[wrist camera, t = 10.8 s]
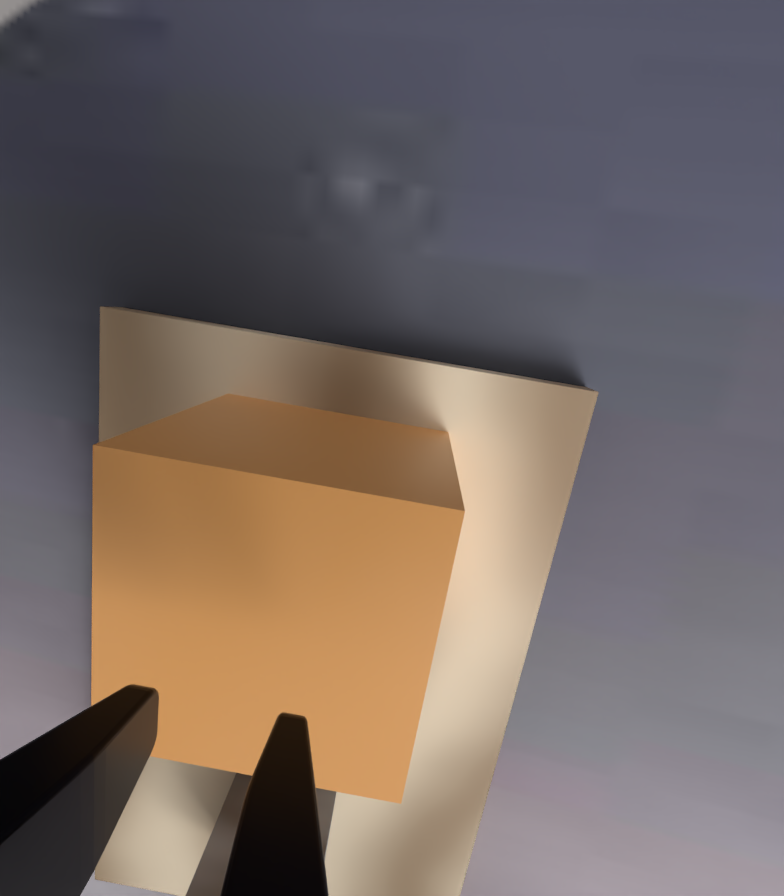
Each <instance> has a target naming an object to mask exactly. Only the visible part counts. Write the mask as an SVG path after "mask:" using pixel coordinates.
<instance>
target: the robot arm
mask: <svg viewBox="0 0 784 896" xmlns="http://www.w3.org/2000/svg"><path fill="white" fill-rule="evenodd" d="M158 709H159V693H158V691H157V690H156V689H155V688H152V687H146V686H141V685H136V684H130V685H127V686H125V687H123V688H121V689H120V690H118V691H116V692H115V693H113V694H111V695H110V696H108V697H106V698H104V699H103V700H101V701H99V702H98V703H96V704H94V705H92V706H91V707H89V708H87V709H86V710H84V711H82V712H81V713H79V714H77V715H75V716H74V717H72V718H70V719H69V720H67V721H65V722H64V723H62V724H60V725H58V726H57V727H55V728H53V729H52V730H50V731H48V732H47V733H45V734H43V735H41V736H40V737H38V738H36V739H35V740H33V741H31V742H29V743H28V744H26V745H24V746H23V747H21V748H19V749H18V750H16V751H14V752H12V753H11V754H9V755H7V756H6V757H4V758H2V759H1V760H0V896H80V895H81V893H82V891H83V889H84V888H85V886H86V884H87V882H88V881H89V879H90V877H91V875H92V873H93V872H94V870H95V868H96V866H97V864H98V862H99V860H100V858H101V856H102V854H103V852H104V850H105V848H106V846H107V844H108V842H109V839H110V837H111V835H112V833H113V831H114V829H115V827H116V825H117V823H118V821H119V819H120V817H121V815H122V813H123V810H124V808H125V806H126V804H127V802H128V800H129V798H130V796H131V794H132V792H133V790H134V788H135V786H136V784H137V781H138V779H139V777H140V775H141V773H142V771H143V769H144V767H145V765H146V763H147V761H148V759H149V757H150V755H151V752H152V750H153V747H154V745H155V741H156V738H157V730H158ZM220 896H329V894H328V886H327V877H326V869H325V861H324V853H323V844H322V836H321V828H320V820H319V812H318V803H317V795H316V787H315V779H314V770H313V762H312V754H311V746H310V738H309V729H308V722H307V719H306V717H305V716H302V715H296V714H291V713H286V712H282V713H280V714H279V715H278V717H277V719H276V721H275V723H274V726H273V728H272V730H271V733H270V735H269V737H268V740H267V742H266V744H265V747H264V749H263V752H262V754H261V756H260V759H259V761H258V763H257V766H256V768H255V770H254V773H253V775H252V777H251V780H250V783H249V785H248V788H247V791H246V794H245V798H244V801H243V805H242V809H241V813H240V817H239V821H238V825H237V829H236V833H235V837H234V841H233V845H232V849H231V853H230V857H229V861H228V865H227V869H226V873H225V877H224V881H223V886H222V890H221V894H220Z"/></svg>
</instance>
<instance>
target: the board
mask: <svg viewBox="0 0 784 896" xmlns="http://www.w3.org/2000/svg"><path fill="white" fill-rule="evenodd" d="M225 394H234V395H240V396H245V397H251V398H257V399H263V400H268V401H274V402H280V403H286V404H291V405H297V406H303V407H308V408H314V409H320V410H326V411H331V412H337V413H343V414H348V415H354V416H360V417H366V418H371V419H377V420H383V421H388V422H394V423H400V424H406V425H411V426H417V427H423V428H428V429H434V430H440V431H446V432H448V433H449V438H450V442H451V447H452V452H453V457H454V461H455V466H456V471H457V476H458V480H459V485H460V490H461V494H462V499H463V504H464V509H465V514H464V518H463V523H462V527H461V532H460V537H459V541H458V546H457V550H456V555H455V559H454V564H453V569H452V573H451V578H450V582H449V587H448V592H447V596H446V601H445V605H444V610H443V614H442V619H441V624H440V628H439V633H438V637H437V642H436V646H435V651H434V656H433V660H432V665H431V669H430V674H429V678H428V683H427V688H426V692H425V697H424V701H423V706H422V711H421V715H420V720H419V724H418V729H417V733H416V738H415V743H414V747H413V752H412V756H411V761H410V765H409V770H408V775H407V779H406V784H405V788H404V793H403V798H402V802H401V804H399V803H394V802H388V801H383V800H378V799H373V798H367V797H362V796H357V795H351V794H346V793H341V792H336V791H330V790H325V789H320V788H316V795H317V803H318V812H319V820H320V828H321V836H322V844H323V853H324V861H325V869H326V877H327V886H328V894H329V896H460V893H461V889H462V886H463V882H464V879H465V875H466V871H467V868H468V864H469V860H470V857H471V853H472V850H473V846H474V842H475V839H476V835H477V831H478V828H479V824H480V821H481V817H482V813H483V810H484V806H485V802H486V799H487V795H488V791H489V788H490V784H491V781H492V777H493V773H494V770H495V766H496V762H497V759H498V755H499V752H500V748H501V744H502V741H503V737H504V733H505V730H506V726H507V723H508V719H509V715H510V712H511V708H512V704H513V701H514V697H515V693H516V690H517V686H518V683H519V679H520V675H521V672H522V668H523V664H524V661H525V657H526V654H527V650H528V646H529V643H530V639H531V635H532V632H533V628H534V625H535V621H536V617H537V614H538V610H539V606H540V603H541V599H542V595H543V592H544V588H545V585H546V581H547V577H548V574H549V570H550V566H551V563H552V559H553V556H554V552H555V548H556V545H557V541H558V537H559V534H560V530H561V527H562V523H563V519H564V516H565V512H566V508H567V505H568V501H569V497H570V494H571V490H572V487H573V483H574V479H575V476H576V472H577V468H578V465H579V461H580V458H581V454H582V450H583V447H584V443H585V439H586V436H587V432H588V429H589V425H590V421H591V418H592V414H593V410H594V407H595V403H596V399H597V396H598V392H597V391H595V390H592V389H590V388H587V387H582V386H577V385H571V384H565V383H559V382H553V381H547V380H542V379H536V378H530V377H524V376H518V375H513V374H507V373H501V372H495V371H489V370H483V369H478V368H472V367H466V366H460V365H454V364H449V363H443V362H437V361H431V360H425V359H420V358H414V357H408V356H402V355H396V354H390V353H385V352H379V351H373V350H367V349H361V348H356V347H350V346H344V345H338V344H332V343H326V342H321V341H315V340H309V339H303V338H297V337H292V336H286V335H280V334H274V333H268V332H262V331H257V330H251V329H245V328H239V327H233V326H228V325H222V324H216V323H210V322H204V321H198V320H193V319H187V318H181V317H175V316H169V315H164V314H158V313H152V312H146V311H140V310H135V309H129V308H123V307H102V306H100V372H99V442H102V441H105V440H107V439H110V438H113V437H115V436H118V435H120V434H123V433H126V432H128V431H131V430H134V429H136V428H139V427H141V426H144V425H147V424H149V423H152V422H155V421H157V420H160V419H162V418H165V417H168V416H170V415H173V414H176V413H178V412H181V411H183V410H186V409H189V408H191V407H194V406H197V405H199V404H202V403H204V402H207V401H210V400H212V399H215V398H218V397H220V396H223V395H225ZM251 777H252V776H251V775H246V774H241V773H235V772H230V771H225V770H220V769H214V768H209V767H204V766H199V765H193V764H188V763H183V762H178V761H172V760H167V759H162V758H156V757H151V756H150V757H149V759H148V761H147V763H146V765H145V767H144V769H143V771H142V773H141V775H140V777H139V779H138V781H137V784H136V786H135V788H134V790H133V792H132V794H131V796H130V798H129V800H128V802H127V804H126V806H125V808H124V810H123V813H122V815H121V817H120V819H119V821H118V823H117V825H116V827H115V829H114V831H113V833H112V835H111V837H110V839H109V842H108V844H107V846H106V848H105V850H104V852H103V854H102V856H101V858H100V860H99V862H98V864H97V866H96V868H95V879H96V880H101V881H106V882H111V883H116V884H121V885H127V886H132V887H137V888H142V889H147V890H152V891H157V892H163V893H168V894H173V895H178V896H220V894H221V890H222V886H223V881H224V877H225V873H226V869H227V865H228V861H229V857H230V853H231V849H232V845H233V841H234V837H235V833H236V829H237V825H238V821H239V817H240V813H241V809H242V805H243V801H244V798H245V794H246V791H247V788H248V785H249V783H250V780H251Z"/></svg>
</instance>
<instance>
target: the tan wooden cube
mask: <svg viewBox="0 0 784 896" xmlns="http://www.w3.org/2000/svg"><path fill="white" fill-rule="evenodd" d="M464 514H465V509H464V504H463V499H462V494H461V490H460V485H459V480H458V476H457V471H456V466H455V461H454V457H453V452H452V447H451V442H450V438H449V433H448V432H446V431H440V430H434V429H428V428H423V427H417V426H411V425H406V424H400V423H394V422H388V421H383V420H377V419H371V418H366V417H360V416H354V415H348V414H343V413H337V412H331V411H326V410H320V409H314V408H308V407H303V406H297V405H291V404H286V403H280V402H274V401H268V400H263V399H257V398H251V397H245V396H240V395H234V394H225V395H223V396H220V397H218V398H215V399H212V400H210V401H207V402H204V403H202V404H199V405H197V406H194V407H191V408H189V409H186V410H183V411H181V412H178V413H176V414H173V415H170V416H168V417H165V418H162V419H160V420H157V421H155V422H152V423H149V424H147V425H144V426H141V427H139V428H136V429H134V430H131V431H128V432H126V433H123V434H120V435H118V436H115V437H113V438H110V439H107V440H105V441H102V442H99V443H97V444H94V445H93V512H92V677H91V706H92V705H94V704H96V703H98V702H99V701H101V700H103V699H104V698H106V697H108V696H110V695H111V694H113V693H115V692H116V691H118V690H120V689H121V688H123V687H125V686H127V685H130V684H136V685H141V686H146V687H152V688H155V689H156V690H157V691H158V693H159V709H158V730H157V738H156V741H155V745H154V747H153V750H152V752H151V755H150V756H151V757H156V758H162V759H167V760H172V761H178V762H183V763H188V764H193V765H199V766H204V767H209V768H214V769H220V770H225V771H230V772H235V773H241V774H246V775H251V776H252V775H253V773H254V770H255V768H256V766H257V763H258V761H259V759H260V756H261V754H262V752H263V749H264V747H265V744H266V742H267V740H268V737H269V735H270V733H271V730H272V728H273V726H274V723H275V721H276V719H277V717H278V715H279V714H280V713H282V712H286V713H291V714H296V715H302V716H305V717H306V719H307V722H308V729H309V738H310V746H311V754H312V762H313V770H314V779H315V787H316V788H320V789H325V790H330V791H336V792H341V793H346V794H351V795H357V796H362V797H367V798H373V799H378V800H383V801H388V802H394V803H399V804H401V802H402V798H403V793H404V788H405V784H406V779H407V775H408V770H409V765H410V761H411V756H412V752H413V747H414V743H415V738H416V733H417V729H418V724H419V720H420V715H421V711H422V706H423V701H424V697H425V692H426V688H427V683H428V678H429V674H430V669H431V665H432V660H433V656H434V651H435V646H436V642H437V637H438V633H439V628H440V624H441V619H442V614H443V610H444V605H445V601H446V596H447V592H448V587H449V582H450V578H451V573H452V569H453V564H454V559H455V555H456V550H457V546H458V541H459V537H460V532H461V527H462V523H463V518H464Z"/></svg>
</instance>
